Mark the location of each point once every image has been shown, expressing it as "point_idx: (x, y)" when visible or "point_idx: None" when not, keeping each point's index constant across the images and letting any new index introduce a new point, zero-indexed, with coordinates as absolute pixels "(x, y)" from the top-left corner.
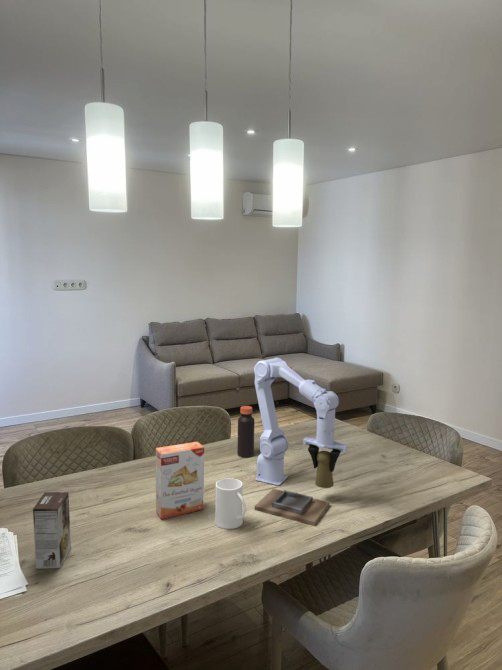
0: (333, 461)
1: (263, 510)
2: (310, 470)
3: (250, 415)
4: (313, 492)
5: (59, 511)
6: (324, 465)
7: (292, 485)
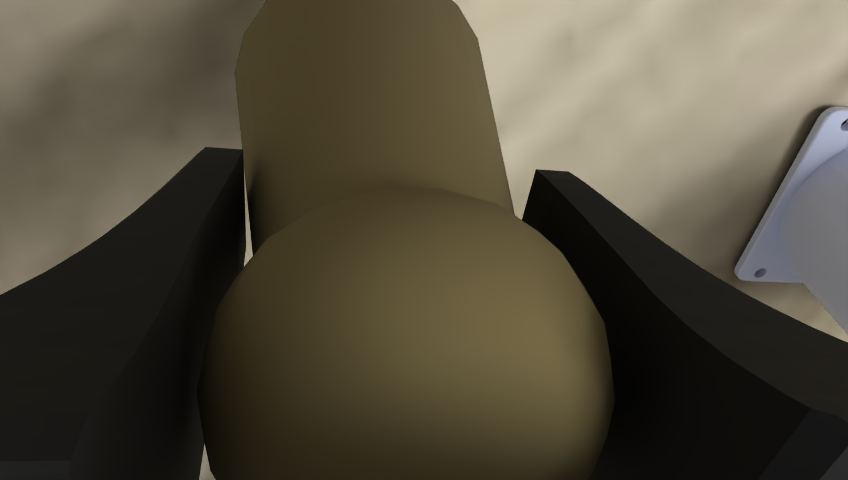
0: (91, 263)
1: None
2: None
3: None
4: None
5: None
6: (361, 174)
7: (690, 165)
